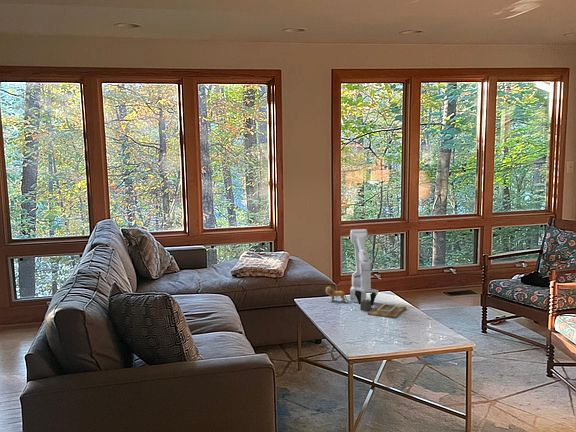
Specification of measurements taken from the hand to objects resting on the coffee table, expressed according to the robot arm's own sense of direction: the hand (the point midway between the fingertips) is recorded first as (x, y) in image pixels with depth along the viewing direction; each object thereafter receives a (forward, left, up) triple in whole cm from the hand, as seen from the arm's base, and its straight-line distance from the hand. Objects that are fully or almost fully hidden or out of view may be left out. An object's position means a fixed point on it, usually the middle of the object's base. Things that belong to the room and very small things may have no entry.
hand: (365, 304), depth 331 cm
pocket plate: (+13, 0, -3) cm, 13 cm away
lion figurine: (-22, +8, -3) cm, 24 cm away
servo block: (0, 0, -3) cm, 3 cm away
